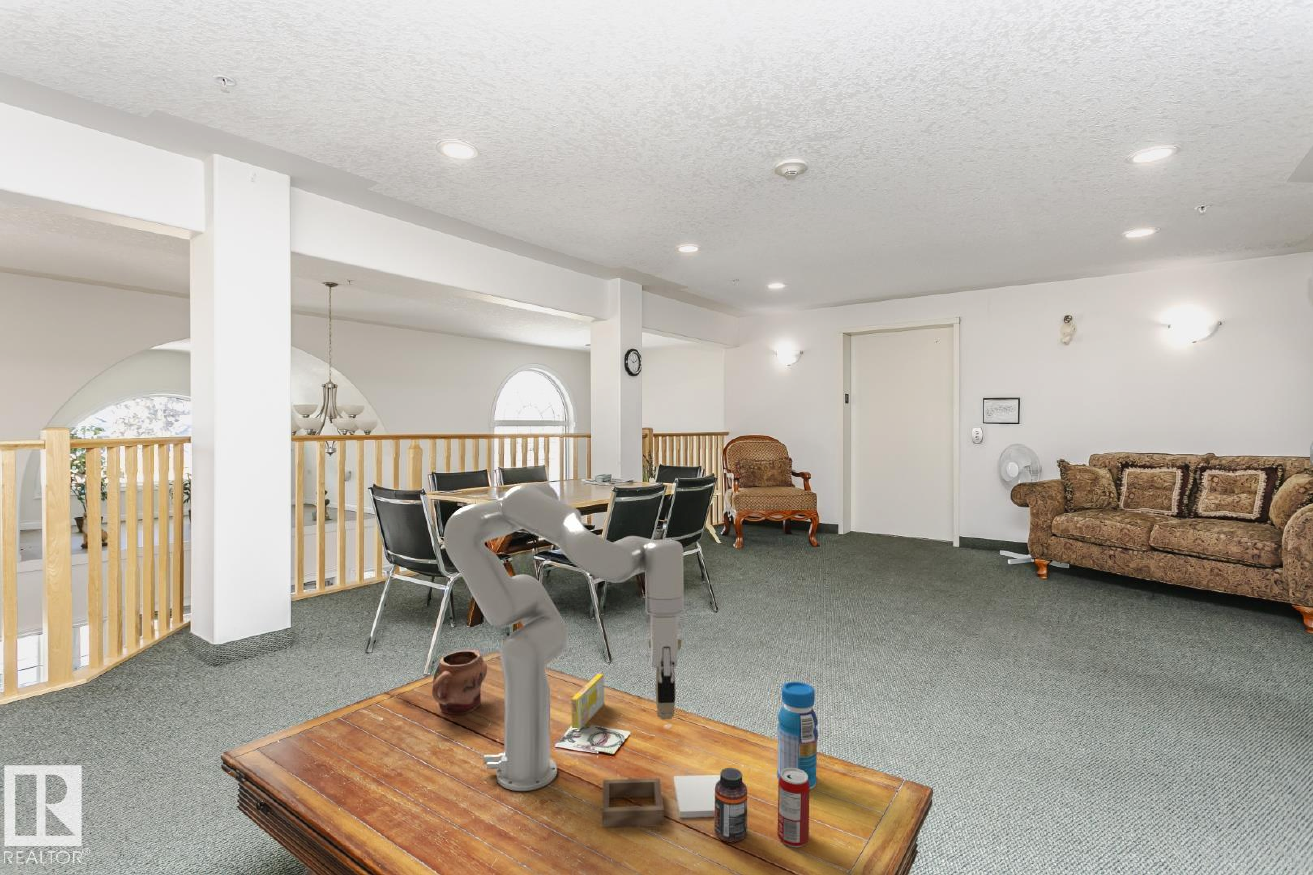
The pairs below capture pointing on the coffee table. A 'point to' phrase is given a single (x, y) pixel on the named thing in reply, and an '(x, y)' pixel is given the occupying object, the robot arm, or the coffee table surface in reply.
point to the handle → (663, 708)
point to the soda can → (793, 807)
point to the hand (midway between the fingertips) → (665, 695)
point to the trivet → (696, 795)
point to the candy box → (587, 701)
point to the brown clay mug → (459, 681)
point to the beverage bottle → (798, 730)
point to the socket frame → (632, 814)
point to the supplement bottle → (730, 806)
